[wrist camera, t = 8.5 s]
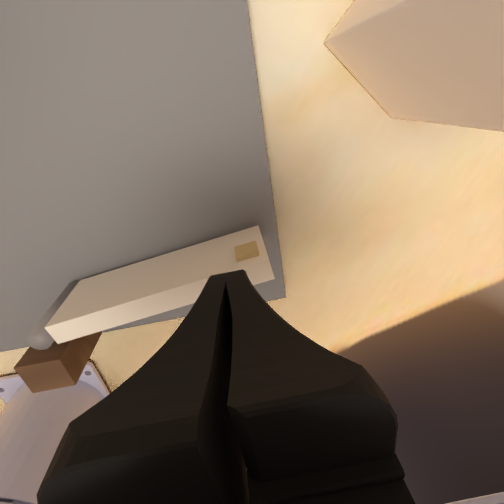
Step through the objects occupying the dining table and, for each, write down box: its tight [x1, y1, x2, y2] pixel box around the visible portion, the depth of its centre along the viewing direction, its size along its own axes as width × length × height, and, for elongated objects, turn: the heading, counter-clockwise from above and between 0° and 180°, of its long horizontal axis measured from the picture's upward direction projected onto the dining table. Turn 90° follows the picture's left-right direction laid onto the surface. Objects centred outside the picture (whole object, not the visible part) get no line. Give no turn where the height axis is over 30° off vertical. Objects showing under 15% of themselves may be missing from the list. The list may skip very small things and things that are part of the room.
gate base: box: [0, 0, 286, 352], centre depth 18 cm, size 20×22×1 cm
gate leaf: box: [26, 225, 275, 350], centre depth 17 cm, size 13×2×5 cm, turn 106°
